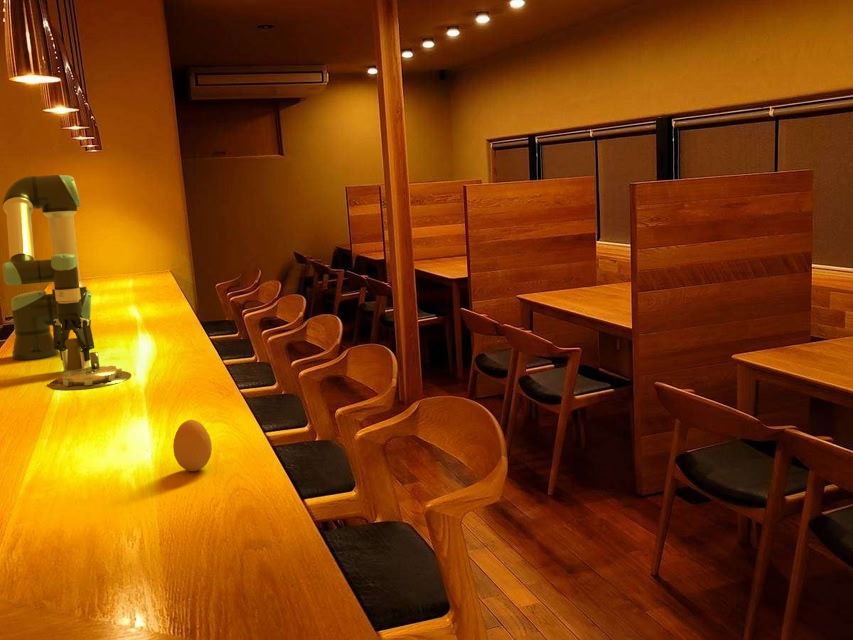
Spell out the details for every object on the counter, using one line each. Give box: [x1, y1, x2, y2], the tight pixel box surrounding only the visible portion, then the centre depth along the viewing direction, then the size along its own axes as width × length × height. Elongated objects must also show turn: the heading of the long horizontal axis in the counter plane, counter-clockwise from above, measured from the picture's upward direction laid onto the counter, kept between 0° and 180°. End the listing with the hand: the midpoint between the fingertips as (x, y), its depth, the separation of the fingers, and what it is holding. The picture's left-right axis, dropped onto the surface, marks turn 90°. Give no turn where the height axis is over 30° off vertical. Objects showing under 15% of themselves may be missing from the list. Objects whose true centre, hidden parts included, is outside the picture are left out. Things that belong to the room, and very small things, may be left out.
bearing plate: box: [46, 370, 132, 391], centre depth 250 cm, size 24×24×1 cm
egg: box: [172, 419, 213, 472], centre depth 164 cm, size 8×8×11 cm
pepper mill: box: [65, 337, 82, 371], centre depth 263 cm, size 6×6×11 cm
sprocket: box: [56, 351, 123, 386], centre depth 249 cm, size 19×19×7 cm
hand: (76, 370), depth 264 cm, fingers open, 6 cm apart
